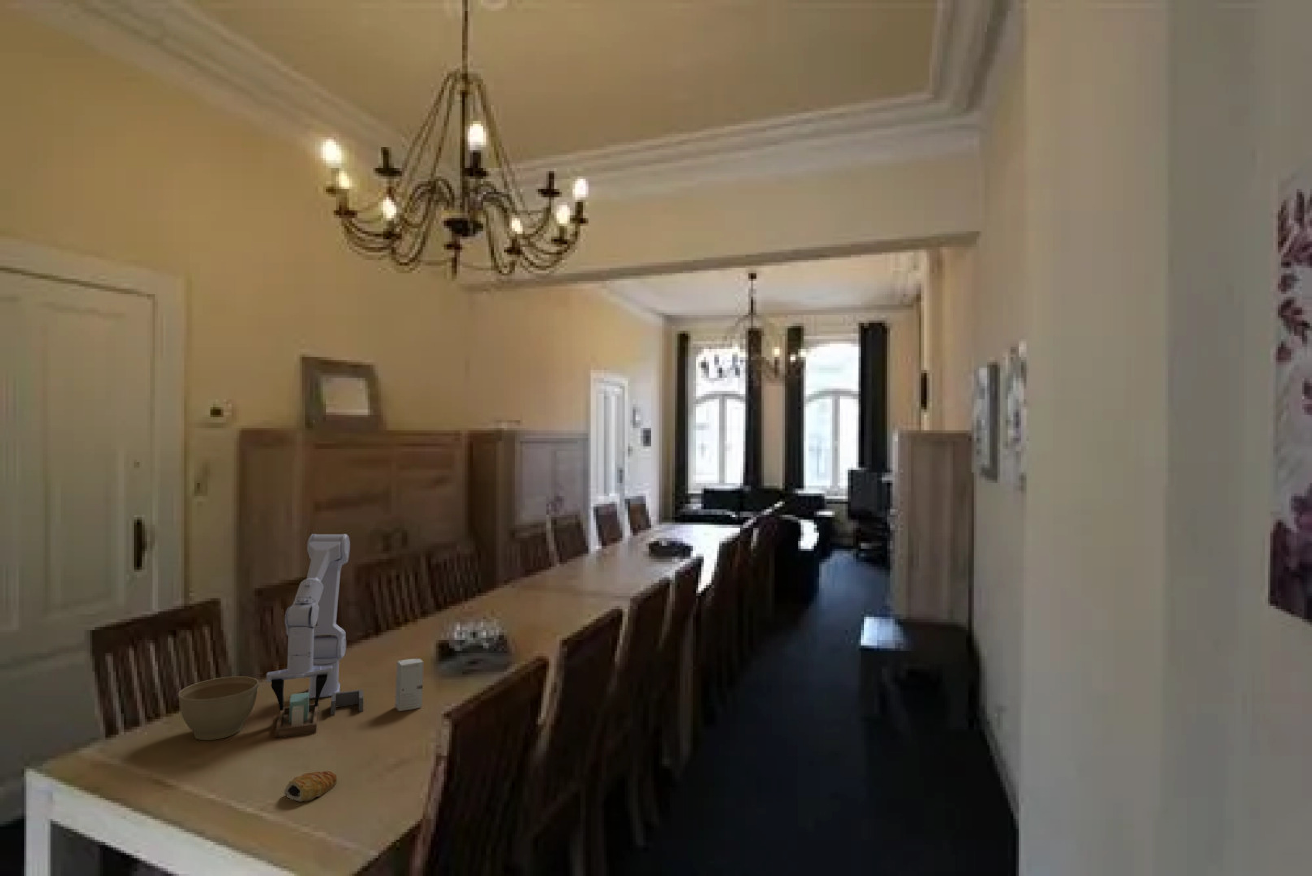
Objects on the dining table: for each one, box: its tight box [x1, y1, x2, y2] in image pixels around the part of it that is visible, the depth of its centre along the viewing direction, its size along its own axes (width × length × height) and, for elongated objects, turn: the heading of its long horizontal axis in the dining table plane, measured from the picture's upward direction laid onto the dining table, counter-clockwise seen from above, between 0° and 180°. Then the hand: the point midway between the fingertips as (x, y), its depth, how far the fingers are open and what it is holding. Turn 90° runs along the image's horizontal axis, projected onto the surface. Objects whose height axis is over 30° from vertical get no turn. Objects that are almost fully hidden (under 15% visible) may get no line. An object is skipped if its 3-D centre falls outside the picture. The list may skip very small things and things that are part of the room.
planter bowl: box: [177, 675, 259, 741], centre depth 163 cm, size 16×16×11 cm
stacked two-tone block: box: [289, 691, 310, 726], centre depth 169 cm, size 10×4×5 cm, turn 24°
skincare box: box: [394, 657, 425, 712], centre depth 181 cm, size 6×4×12 cm
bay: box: [330, 689, 364, 716], centre depth 179 cm, size 7×8×4 cm
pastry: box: [283, 770, 338, 803], centre depth 136 cm, size 9×7×4 cm
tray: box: [274, 702, 320, 739], centre depth 169 cm, size 15×9×2 cm, turn 24°
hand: (299, 706), depth 170 cm, fingers open, 7 cm apart
